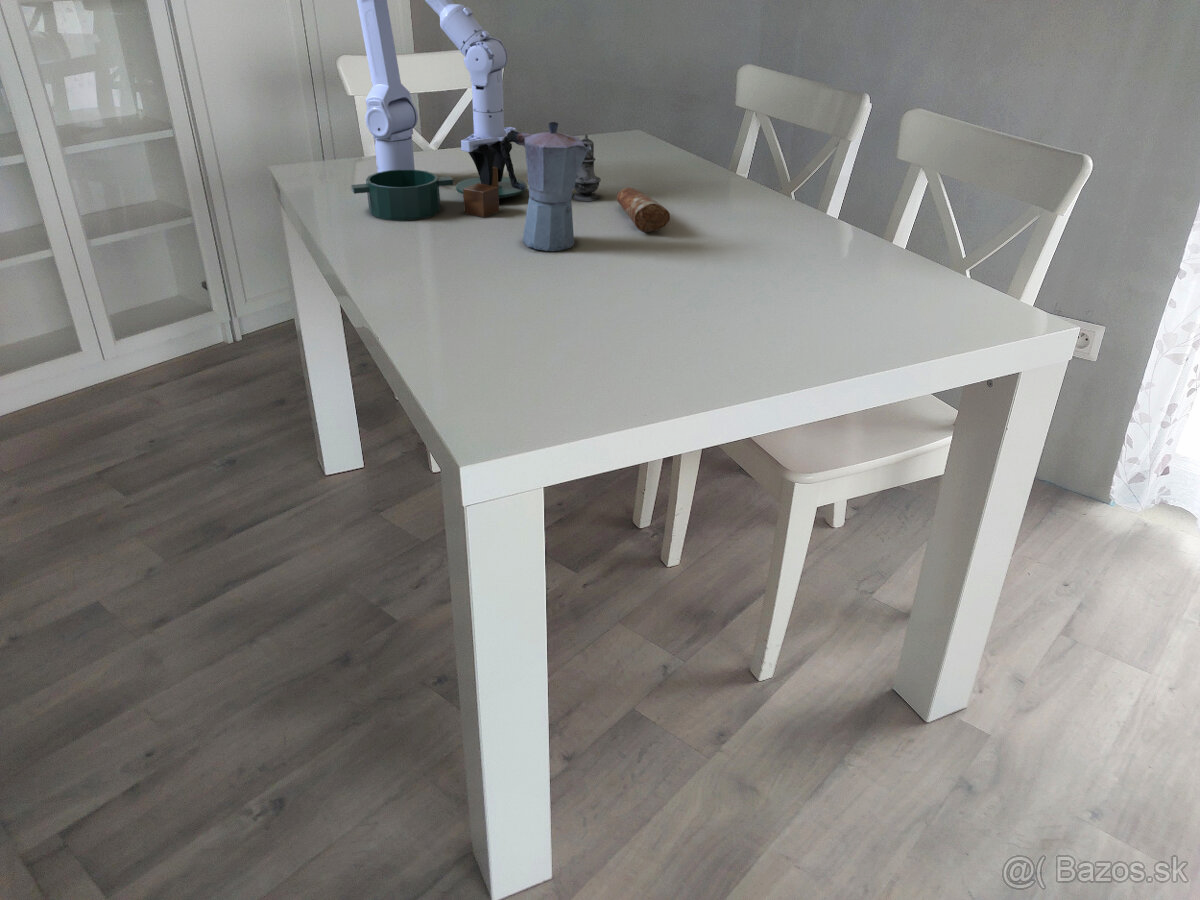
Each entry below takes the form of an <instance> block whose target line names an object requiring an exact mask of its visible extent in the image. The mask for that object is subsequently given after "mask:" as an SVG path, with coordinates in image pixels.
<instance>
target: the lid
mask: <svg viewBox="0 0 1200 900" xmlns="http://www.w3.org/2000/svg"><path fill="white" fill-rule="evenodd" d="M516 179H517V182H518V183H520V184H524V185H525V186H526V187H525V189H524V190H519V189H517V188H513V187H512V185H511V181H510V178H509V176H502V181H501V182H498V168H497V167H493V178H492V185H491V186H496V187H498V190H499V199H504V198H509V197H515V196H517V195H520V194H523V193H525V192H526V191H527V190H528V184H527V183H526V182H525V181H524V180H522V179H520V178H519V179H518V178H516ZM478 183H481V181H480V178H479V176H477V177H471V178H467V179H464V180H461V181H459V182H458V183H456V185H455V190H456V191H457V192H458V193H460V194H462V195H463V188H466V187H469V186H472V185H475V184H478Z"/></svg>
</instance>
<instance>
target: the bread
mask: <svg viewBox="0 0 1200 900" xmlns="http://www.w3.org/2000/svg"><path fill="white" fill-rule="evenodd" d="M616 201H617V203H618V205H620V207H621V208H622V210H623V212H624V213H626V215H627V216H628V218H629V219H630V220H631V221H632V223H633V224H634V226H635V227H636V228H637V230H639V231H641V232H644V233H648V232H656V231H660V230H661V229H663V228H665V227H666V226H667V224H668V223H669V221H670V220H671V214H670V212H669V211H668V209H667V208H665V207H664V206H663V205H662V203H659V202H658V201H656V200H655V199H653V198H652V197H651V196H648V195H646V194H645V193H643V192H642V191H640V190H638V189H635V188H634V187H624V188H623V189H621V190H619V192H618V193H617V196H616Z"/></svg>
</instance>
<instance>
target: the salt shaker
mask: <svg viewBox="0 0 1200 900" xmlns="http://www.w3.org/2000/svg"><path fill="white" fill-rule="evenodd" d="M580 141H583V142H585V143H587V144H588V145H589V146H590V147H591V149H592V150H590V151H588V153H587V154H586V156H585V158H584V160H583V162H582V164H581V167H580V169H579V170H578V172H577V176H576V182H575V187H574V189H573V190H575V191H576V193H574V194H572V198H571V199H573V200H575V201H579V202H593V201H597V200H599V199H600V195H598V194H597V193H595V192H596V191H597V190H598V188H599V187H600V182H601V181H602V179H601V177H600V176H597V175H596V173H595V161H596V158H595V154H594V151H595V149H594V148H595V143H594V141H593V140H592V139H589V135H588V134H586V133H585V135H584V138H583V139H581V140H580Z"/></svg>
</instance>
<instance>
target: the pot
mask: <svg viewBox="0 0 1200 900" xmlns="http://www.w3.org/2000/svg"><path fill="white" fill-rule="evenodd" d="M453 185H454V179H453V178H452V177H451V176H440V177H439V176H438V175H437V174H436V173H434V172H431V171H428V170H421V169H415V170H404V169H402V170H389V171H383V172H378V173H377V172H376V173H373V174H370V175H368V177H366V179H365V183H357V184H351V191H352V192H353V193H354V195H355V194H366V193H367V194H366V195H367V203H368V204H367V205H368V210H369V213H370V215H372V216H373V217H375V218H377V219H381V220H387V221H399V222H400V221H401V222H402V221H416V220H423V219H426V218H430V217H433V216H435V215H437V214H439V213H440V211H441V197H440V195H441V193H440V187H445V186H453Z"/></svg>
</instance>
